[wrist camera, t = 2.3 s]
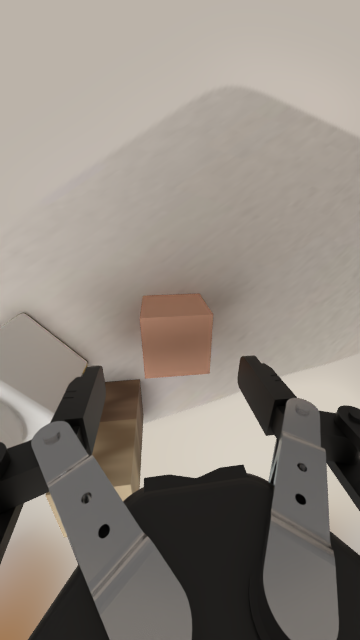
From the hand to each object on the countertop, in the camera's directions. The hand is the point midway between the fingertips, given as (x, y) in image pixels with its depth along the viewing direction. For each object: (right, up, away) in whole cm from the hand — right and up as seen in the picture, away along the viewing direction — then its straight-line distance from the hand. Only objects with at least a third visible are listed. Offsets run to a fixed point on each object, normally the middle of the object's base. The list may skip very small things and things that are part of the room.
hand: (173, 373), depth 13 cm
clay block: (0, +3, +8) cm, 8 cm away
